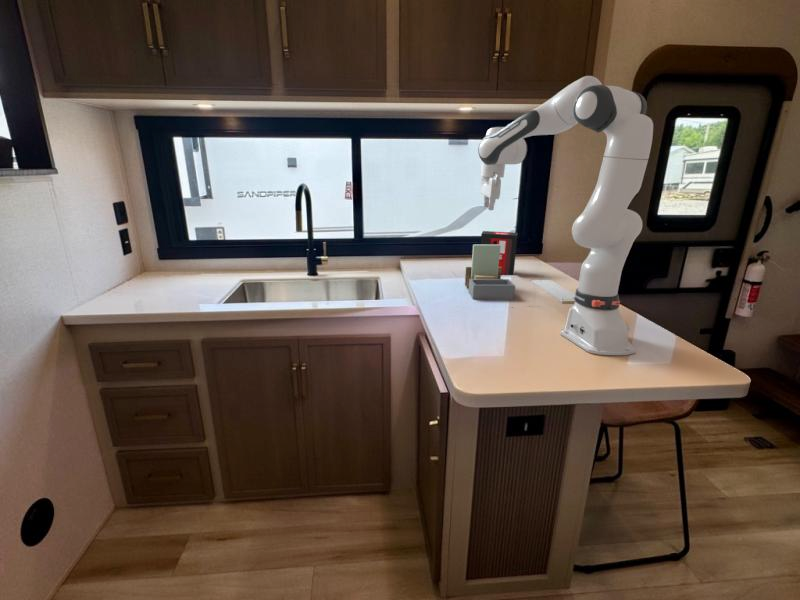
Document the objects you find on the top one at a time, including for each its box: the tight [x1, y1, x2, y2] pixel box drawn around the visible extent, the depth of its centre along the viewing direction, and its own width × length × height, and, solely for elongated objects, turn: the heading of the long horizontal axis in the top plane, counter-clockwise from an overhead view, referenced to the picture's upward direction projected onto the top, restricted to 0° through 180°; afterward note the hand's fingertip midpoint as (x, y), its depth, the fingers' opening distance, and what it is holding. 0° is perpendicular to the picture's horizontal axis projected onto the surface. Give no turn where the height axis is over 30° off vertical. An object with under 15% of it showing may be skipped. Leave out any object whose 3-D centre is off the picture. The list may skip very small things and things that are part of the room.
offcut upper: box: [474, 275, 495, 279], centre depth 170 cm, size 3×8×3 cm, turn 92°
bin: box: [467, 278, 516, 300], centre depth 163 cm, size 9×16×7 cm, turn 92°
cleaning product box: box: [480, 230, 519, 276], centre depth 201 cm, size 16×9×20 cm, turn 74°
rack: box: [464, 266, 502, 292], centre depth 172 cm, size 10×15×10 cm, turn 92°
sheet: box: [471, 243, 500, 279], centre depth 173 cm, size 2×11×18 cm, turn 92°
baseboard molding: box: [531, 279, 575, 304], centre depth 175 cm, size 31×3×12 cm
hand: (488, 208), depth 164 cm, fingers open, 8 cm apart
